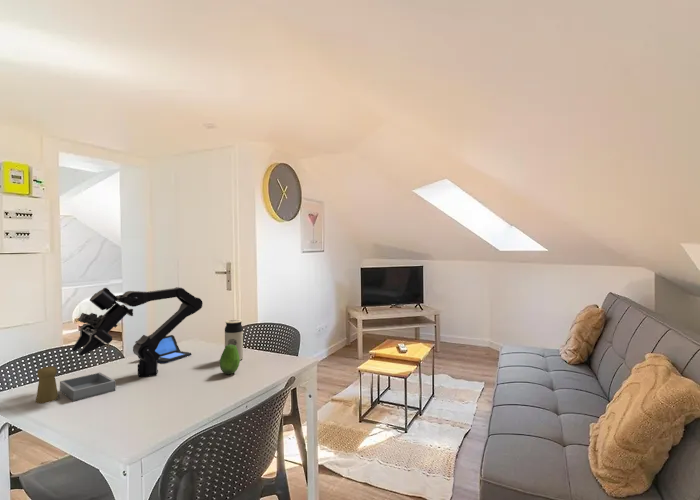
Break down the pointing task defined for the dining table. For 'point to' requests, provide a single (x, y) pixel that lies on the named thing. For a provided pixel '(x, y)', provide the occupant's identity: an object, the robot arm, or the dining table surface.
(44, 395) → the cork
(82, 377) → the tray
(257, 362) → the dining table surface
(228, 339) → the travel mug
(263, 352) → the dining table surface
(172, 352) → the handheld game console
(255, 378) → the dining table surface
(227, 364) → the avocado
